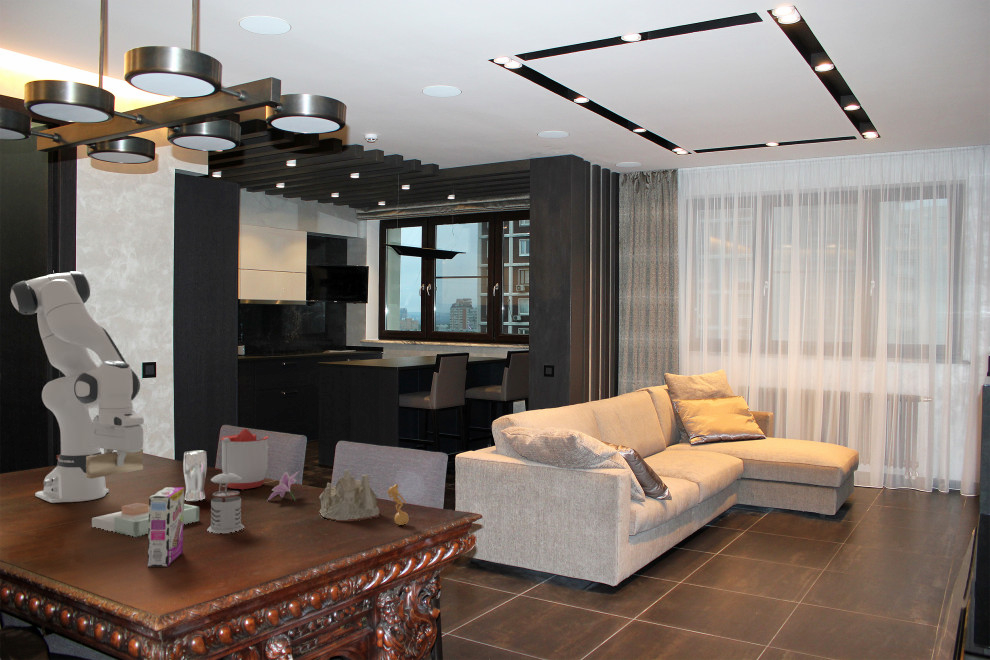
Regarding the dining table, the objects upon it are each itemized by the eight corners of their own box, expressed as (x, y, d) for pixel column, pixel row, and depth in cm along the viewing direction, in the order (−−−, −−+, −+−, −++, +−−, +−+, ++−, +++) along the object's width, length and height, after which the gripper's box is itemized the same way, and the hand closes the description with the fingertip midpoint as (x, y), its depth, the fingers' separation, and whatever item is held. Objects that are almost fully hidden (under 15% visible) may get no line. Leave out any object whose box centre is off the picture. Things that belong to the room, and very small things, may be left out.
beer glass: (198, 502, 242) (198, 454, 242) (178, 501, 243) (178, 453, 243) (210, 497, 249) (211, 451, 248) (191, 496, 250) (191, 450, 250)
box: (114, 532, 207) (114, 517, 207) (178, 516, 224) (178, 502, 224) (135, 537, 202) (135, 522, 202) (199, 520, 220) (199, 506, 220)
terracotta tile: (121, 513, 217) (121, 506, 217) (137, 509, 222) (137, 502, 222) (132, 515, 215) (132, 508, 215) (148, 511, 219) (148, 504, 219)
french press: (209, 535, 205) (210, 441, 205) (203, 524, 216) (204, 435, 215) (247, 530, 210) (248, 439, 210) (240, 520, 220) (241, 433, 220)
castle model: (385, 516, 227) (382, 465, 227) (331, 526, 218) (329, 473, 218) (365, 508, 240) (362, 460, 240) (313, 517, 231) (311, 467, 231)
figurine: (415, 527, 215) (416, 484, 215) (397, 531, 211) (397, 487, 211) (399, 521, 222) (400, 479, 222) (381, 524, 218) (381, 482, 218)
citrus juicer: (281, 484, 269) (282, 427, 269) (241, 493, 255) (241, 433, 255) (251, 479, 278) (252, 423, 278) (210, 487, 263) (211, 429, 263)
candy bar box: (169, 567, 178) (169, 496, 178) (146, 567, 178) (147, 496, 178) (184, 552, 190) (185, 486, 189) (163, 553, 189) (164, 486, 189)
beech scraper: (86, 477, 216) (86, 456, 216) (137, 468, 230) (137, 448, 230) (91, 478, 215) (91, 457, 215) (142, 469, 229) (142, 449, 229)
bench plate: (91, 526, 212) (91, 517, 212) (155, 511, 229) (156, 503, 229) (114, 532, 207) (114, 523, 207) (178, 516, 224) (178, 507, 224)
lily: (302, 498, 254) (289, 472, 255) (315, 490, 245) (302, 463, 246) (270, 515, 246) (256, 488, 247) (283, 507, 237) (269, 480, 238)
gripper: (83, 415, 225) (83, 462, 225) (127, 421, 215) (126, 470, 215) (103, 413, 230) (103, 459, 231) (147, 418, 220) (147, 467, 220)
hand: (115, 465), depth 223 cm, fingers closed on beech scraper, 2 cm apart
